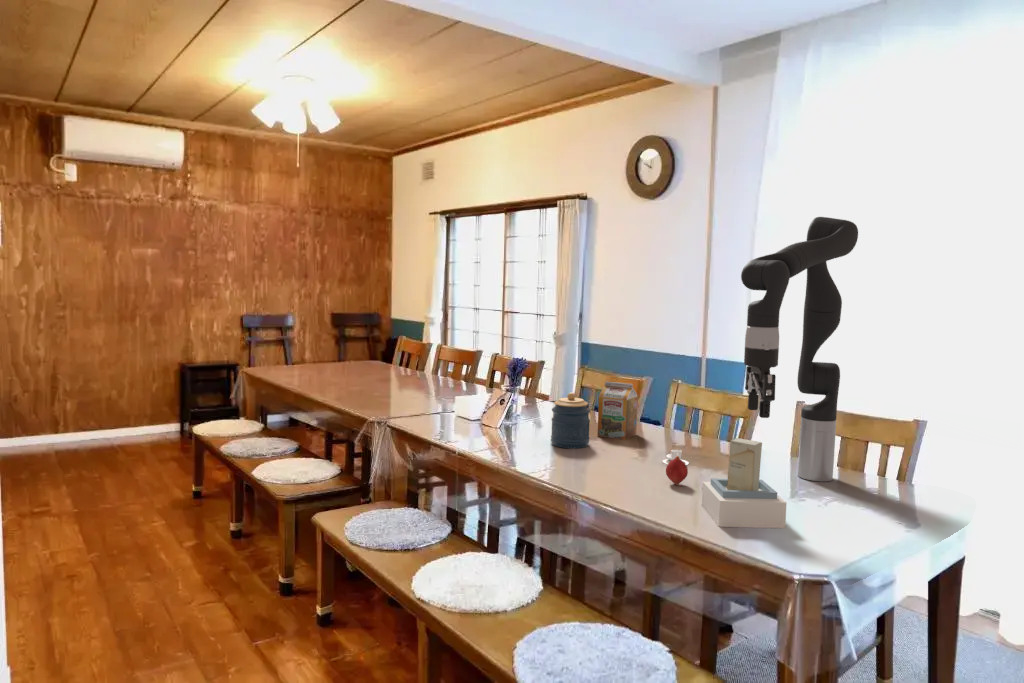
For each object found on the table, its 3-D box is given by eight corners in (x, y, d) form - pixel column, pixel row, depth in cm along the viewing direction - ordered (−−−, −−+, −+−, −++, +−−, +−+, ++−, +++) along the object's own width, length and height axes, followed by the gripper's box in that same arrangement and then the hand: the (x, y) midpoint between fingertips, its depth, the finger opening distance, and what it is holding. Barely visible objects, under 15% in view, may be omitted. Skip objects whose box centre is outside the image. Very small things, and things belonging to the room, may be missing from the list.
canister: (594, 448, 229) (596, 395, 228) (557, 449, 226) (558, 396, 225) (581, 439, 242) (583, 389, 240) (546, 440, 239) (547, 389, 237)
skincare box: (726, 490, 165) (728, 440, 164) (734, 486, 168) (737, 437, 167) (752, 496, 161) (754, 444, 160) (759, 492, 164) (762, 441, 163)
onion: (661, 482, 192) (662, 454, 191) (678, 480, 194) (679, 452, 193) (673, 488, 186) (675, 459, 186) (691, 486, 188) (692, 457, 188)
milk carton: (636, 434, 252) (638, 382, 250) (625, 439, 243) (627, 385, 241) (609, 430, 257) (610, 379, 255) (597, 435, 248) (599, 383, 246)
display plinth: (701, 505, 173) (703, 475, 172) (762, 506, 172) (763, 477, 172) (718, 526, 158) (720, 494, 157) (785, 528, 157) (786, 495, 157)
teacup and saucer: (665, 458, 219) (665, 446, 219) (691, 461, 216) (691, 448, 216) (660, 465, 211) (660, 452, 211) (686, 468, 208) (687, 455, 208)
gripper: (736, 342, 170) (733, 407, 172) (755, 349, 156) (751, 420, 158) (767, 342, 170) (764, 407, 172) (788, 349, 156) (785, 420, 157)
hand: (758, 413), depth 165 cm, fingers open, 8 cm apart
